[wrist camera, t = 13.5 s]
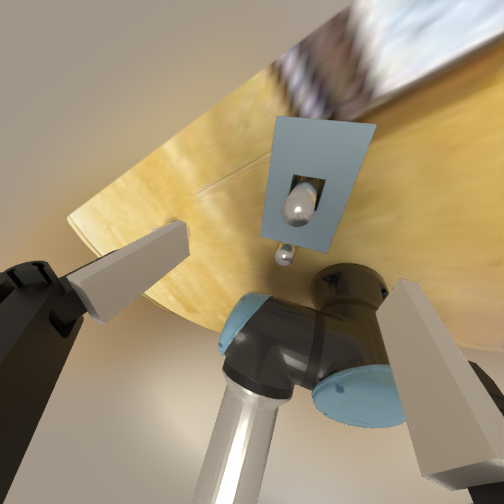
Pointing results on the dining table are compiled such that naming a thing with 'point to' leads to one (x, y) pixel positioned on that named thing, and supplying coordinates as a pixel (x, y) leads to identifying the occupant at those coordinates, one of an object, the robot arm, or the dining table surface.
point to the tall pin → (300, 202)
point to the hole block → (313, 175)
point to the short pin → (285, 254)
